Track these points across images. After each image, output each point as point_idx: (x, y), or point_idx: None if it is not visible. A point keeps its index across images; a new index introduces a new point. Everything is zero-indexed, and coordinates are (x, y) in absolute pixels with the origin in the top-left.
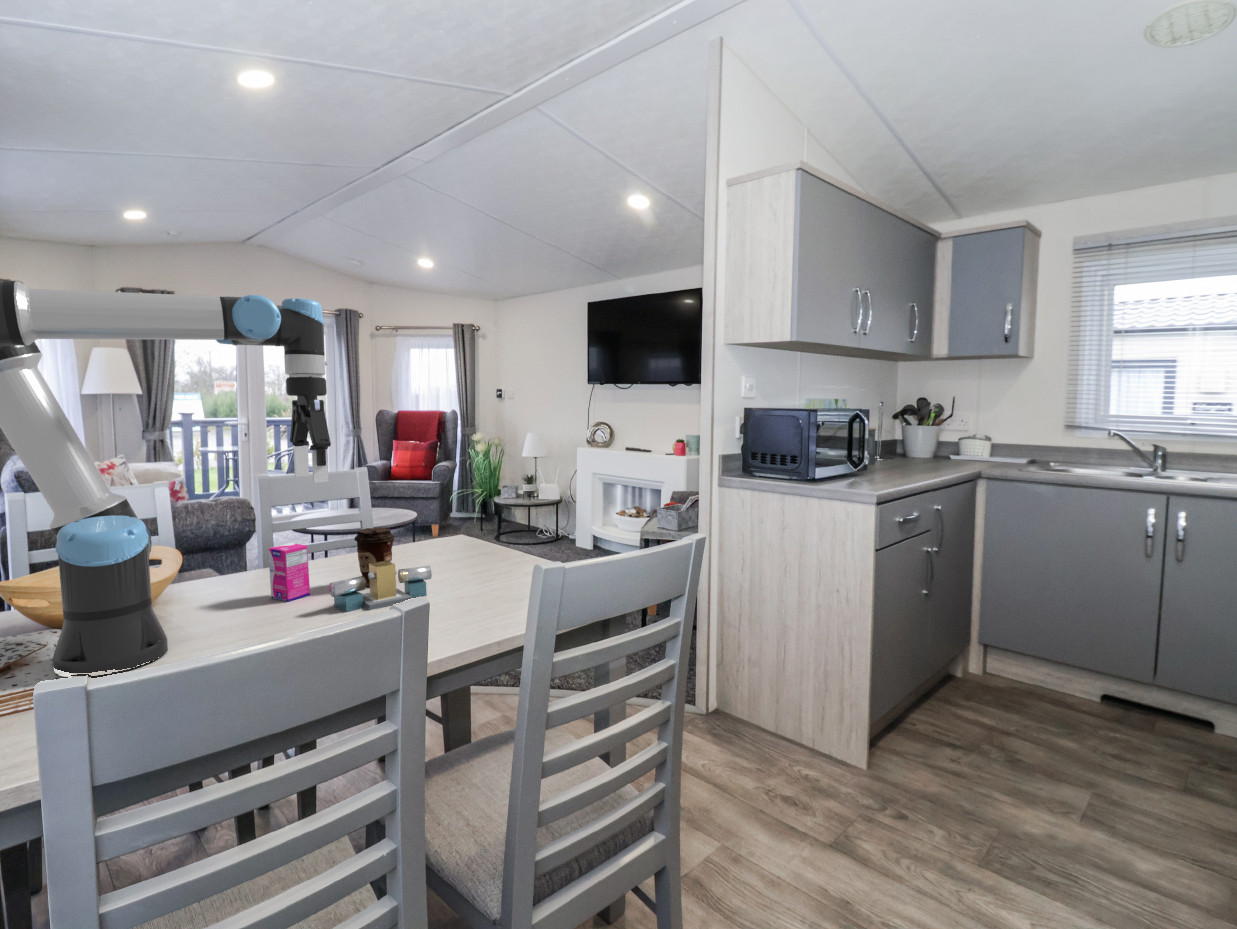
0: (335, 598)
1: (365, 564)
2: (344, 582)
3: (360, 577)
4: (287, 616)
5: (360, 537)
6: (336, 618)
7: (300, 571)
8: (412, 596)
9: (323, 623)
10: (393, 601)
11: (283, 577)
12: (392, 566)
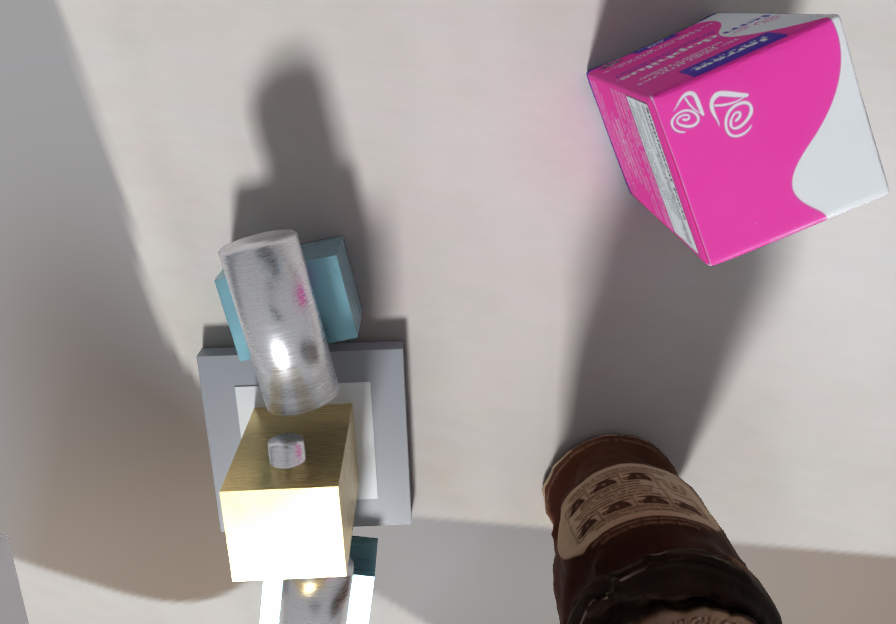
0: (324, 251)
1: (590, 499)
2: (245, 311)
3: (282, 400)
4: (330, 13)
5: (639, 582)
6: (159, 197)
7: (644, 174)
8: None
9: (115, 129)
10: (213, 455)
11: (634, 69)
12: (232, 562)
